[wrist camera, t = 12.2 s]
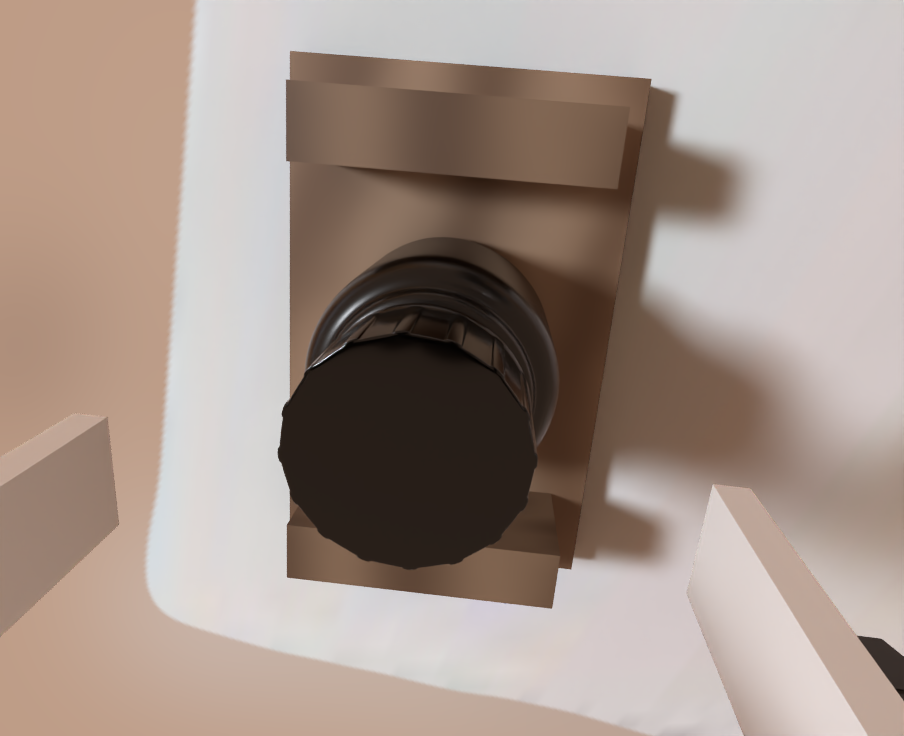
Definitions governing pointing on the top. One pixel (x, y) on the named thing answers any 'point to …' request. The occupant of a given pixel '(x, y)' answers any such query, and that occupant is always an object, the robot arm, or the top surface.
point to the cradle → (477, 220)
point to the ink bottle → (422, 406)
